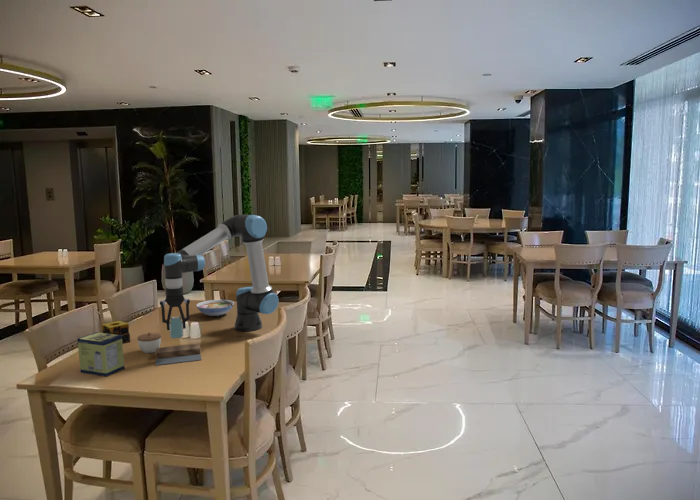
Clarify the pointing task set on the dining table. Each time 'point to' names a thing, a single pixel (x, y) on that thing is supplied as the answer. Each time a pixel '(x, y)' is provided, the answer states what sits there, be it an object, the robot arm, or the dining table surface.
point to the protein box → (101, 354)
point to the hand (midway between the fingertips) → (176, 336)
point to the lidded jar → (149, 342)
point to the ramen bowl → (215, 307)
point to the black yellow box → (117, 330)
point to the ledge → (177, 351)
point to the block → (176, 327)
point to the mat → (178, 359)
